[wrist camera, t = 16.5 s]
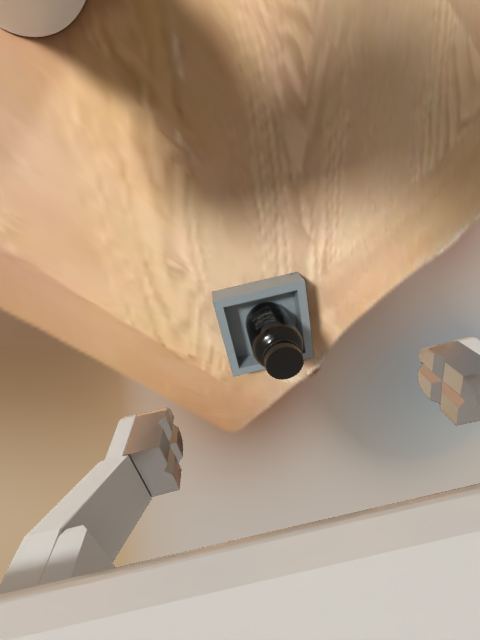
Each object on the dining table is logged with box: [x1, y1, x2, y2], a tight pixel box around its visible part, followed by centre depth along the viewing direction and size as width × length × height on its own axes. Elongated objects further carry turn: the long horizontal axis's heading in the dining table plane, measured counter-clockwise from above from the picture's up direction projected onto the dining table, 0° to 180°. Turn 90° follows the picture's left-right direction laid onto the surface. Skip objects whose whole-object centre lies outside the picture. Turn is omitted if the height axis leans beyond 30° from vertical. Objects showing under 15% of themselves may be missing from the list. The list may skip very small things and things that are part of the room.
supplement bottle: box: [246, 302, 304, 379], centre depth 42 cm, size 7×7×12 cm
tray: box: [212, 272, 314, 376], centre depth 46 cm, size 13×13×4 cm
